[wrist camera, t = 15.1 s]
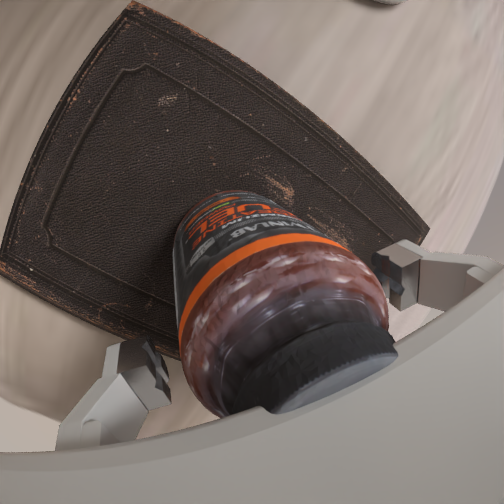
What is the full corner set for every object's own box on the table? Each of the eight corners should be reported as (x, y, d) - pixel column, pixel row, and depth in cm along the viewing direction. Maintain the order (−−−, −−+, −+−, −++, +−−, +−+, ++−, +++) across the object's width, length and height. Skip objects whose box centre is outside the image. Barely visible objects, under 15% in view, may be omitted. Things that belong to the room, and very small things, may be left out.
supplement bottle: (265, 167, 14) (468, 242, 4) (299, 269, 17) (442, 415, 7) (150, 218, 14) (126, 419, 3) (201, 315, 16) (261, 514, 6)
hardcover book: (135, 16, 11) (132, -1, 9) (410, 220, 21) (430, 228, 19) (9, 261, 14) (-7, 277, 12) (293, 381, 23) (304, 400, 21)
